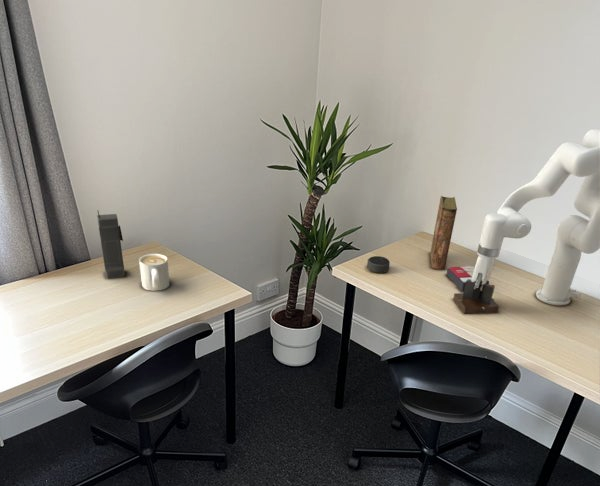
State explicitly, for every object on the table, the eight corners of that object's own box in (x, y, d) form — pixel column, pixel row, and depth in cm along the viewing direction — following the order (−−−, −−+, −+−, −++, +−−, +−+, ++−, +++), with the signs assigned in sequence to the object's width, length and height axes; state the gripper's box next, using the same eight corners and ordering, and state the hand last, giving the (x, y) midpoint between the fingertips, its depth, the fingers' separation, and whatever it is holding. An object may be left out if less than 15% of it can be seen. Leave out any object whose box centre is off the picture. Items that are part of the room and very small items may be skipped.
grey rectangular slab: (462, 297, 224) (466, 280, 220) (464, 295, 225) (468, 278, 221) (489, 304, 220) (493, 287, 216) (490, 302, 221) (495, 285, 217)
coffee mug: (144, 278, 229) (141, 253, 223) (171, 279, 229) (168, 254, 223) (138, 294, 218) (135, 268, 212) (166, 295, 219) (163, 269, 213)
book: (444, 270, 248) (457, 210, 233) (431, 269, 248) (442, 208, 233) (443, 254, 261) (454, 196, 246) (430, 253, 261) (441, 195, 246)
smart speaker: (362, 269, 245) (363, 259, 243) (375, 262, 251) (376, 253, 248) (380, 276, 241) (381, 266, 238) (392, 269, 246) (394, 260, 244)
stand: (485, 296, 231) (487, 290, 229) (501, 314, 220) (502, 308, 218) (450, 297, 228) (451, 291, 227) (463, 315, 217) (465, 309, 216)
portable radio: (126, 270, 234) (118, 205, 219) (128, 276, 229) (119, 211, 214) (105, 271, 231) (95, 207, 216) (106, 278, 227) (96, 213, 212)
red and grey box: (472, 265, 244) (490, 279, 232) (470, 275, 247) (487, 290, 235) (447, 266, 242) (463, 281, 230) (445, 276, 245) (461, 291, 233)
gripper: (484, 240, 218) (473, 287, 229) (471, 255, 207) (460, 303, 218) (505, 245, 215) (492, 292, 226) (493, 260, 204) (481, 309, 215)
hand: (477, 297), depth 222 cm, fingers closed on grey rectangular slab, 2 cm apart
